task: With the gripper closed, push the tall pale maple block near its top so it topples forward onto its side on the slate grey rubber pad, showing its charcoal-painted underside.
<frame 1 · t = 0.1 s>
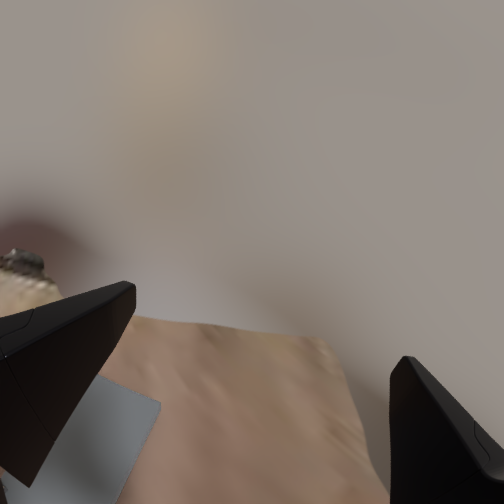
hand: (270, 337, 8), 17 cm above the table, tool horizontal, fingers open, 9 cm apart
rubber pad: (7, 443, 12), on the table
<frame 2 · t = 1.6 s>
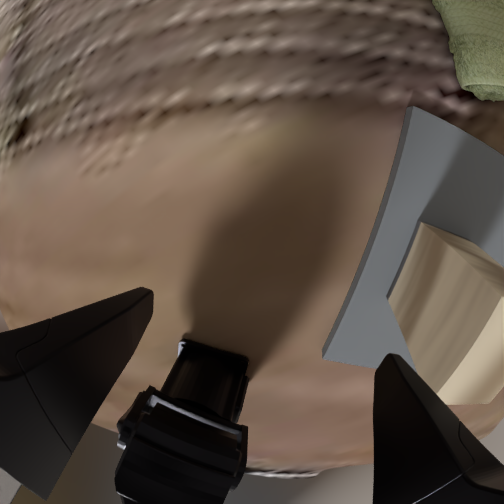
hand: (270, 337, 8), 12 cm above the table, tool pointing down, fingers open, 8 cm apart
rubber pad: (475, 278, 18), on the table
maple block: (429, 268, 18), point 1 cm above the table, touching rubber pad
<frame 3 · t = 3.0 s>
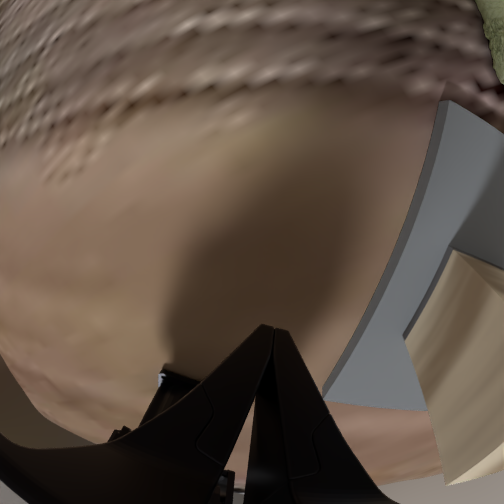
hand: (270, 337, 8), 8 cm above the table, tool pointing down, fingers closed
rubber pad: (501, 308, 14), on the table
maple block: (455, 302, 14), point 1 cm above the table, touching rubber pad
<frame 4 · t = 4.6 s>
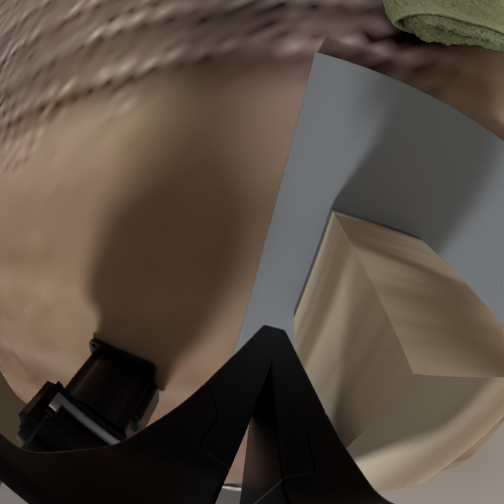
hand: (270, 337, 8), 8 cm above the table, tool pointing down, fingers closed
rubber pad: (435, 289, 15), on the table
maple block: (356, 275, 14), point 1 cm above the table, touching gripper, rubber pad
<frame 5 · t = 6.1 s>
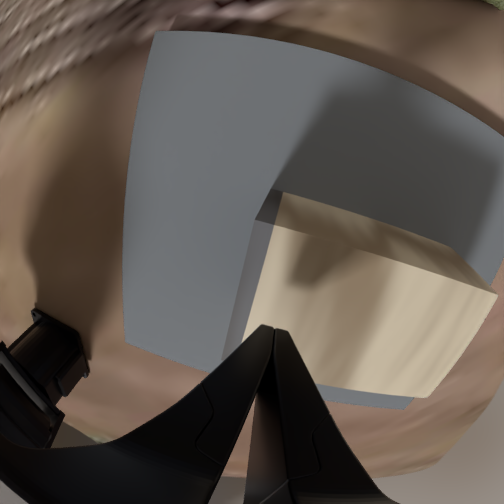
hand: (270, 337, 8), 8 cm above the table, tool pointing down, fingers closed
rubber pad: (322, 255, 15), on the table
maple block: (247, 269, 12), point 4 cm above the table, tilted 90°, touching rubber pad
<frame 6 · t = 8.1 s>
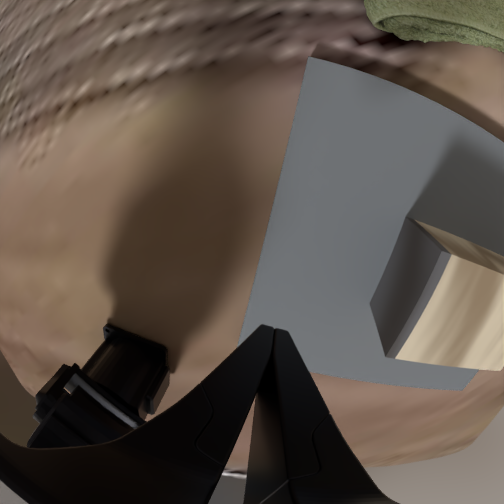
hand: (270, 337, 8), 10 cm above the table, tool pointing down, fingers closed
rubber pad: (425, 267, 17), on the table
maple block: (399, 283, 14), point 4 cm above the table, tilted 90°, touching rubber pad
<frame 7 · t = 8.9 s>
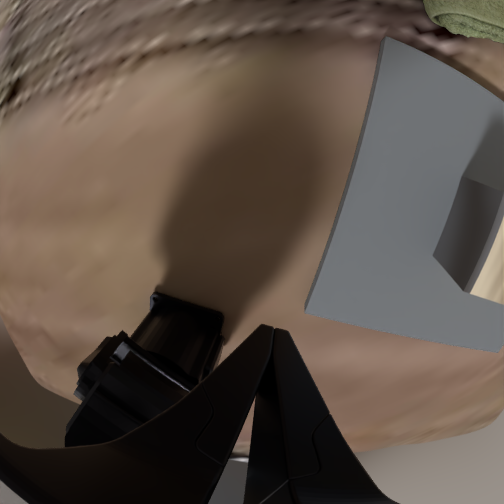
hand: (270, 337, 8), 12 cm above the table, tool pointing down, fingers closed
rubber pad: (473, 226, 17), on the table
maple block: (465, 228, 14), point 4 cm above the table, tilted 90°, touching rubber pad
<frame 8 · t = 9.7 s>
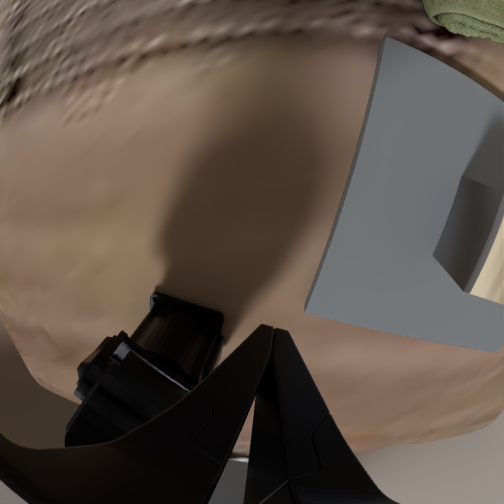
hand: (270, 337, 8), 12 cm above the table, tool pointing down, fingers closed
rubber pad: (473, 226, 17), on the table
maple block: (465, 228, 14), point 4 cm above the table, tilted 90°, touching rubber pad
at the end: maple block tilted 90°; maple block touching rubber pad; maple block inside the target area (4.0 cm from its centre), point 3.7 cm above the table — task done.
